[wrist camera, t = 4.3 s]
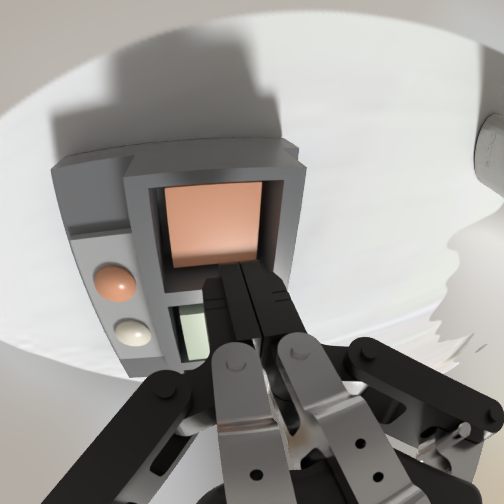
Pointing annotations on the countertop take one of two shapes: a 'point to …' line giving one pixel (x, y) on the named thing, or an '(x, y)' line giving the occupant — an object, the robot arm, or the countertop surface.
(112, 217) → the keypad
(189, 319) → the key sage
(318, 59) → the countertop surface
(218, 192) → the key terracotta
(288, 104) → the countertop surface
